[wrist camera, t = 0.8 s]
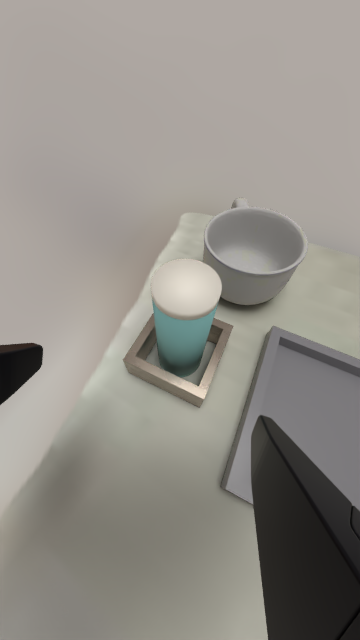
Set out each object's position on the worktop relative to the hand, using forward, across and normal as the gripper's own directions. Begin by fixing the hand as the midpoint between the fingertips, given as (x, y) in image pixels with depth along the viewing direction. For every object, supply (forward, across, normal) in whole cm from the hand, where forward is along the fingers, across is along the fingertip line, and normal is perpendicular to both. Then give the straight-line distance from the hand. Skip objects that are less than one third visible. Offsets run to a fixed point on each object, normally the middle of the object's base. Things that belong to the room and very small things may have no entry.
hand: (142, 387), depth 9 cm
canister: (+15, 0, +5) cm, 16 cm away
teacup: (+26, -4, -4) cm, 26 cm away
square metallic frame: (+15, 0, +5) cm, 16 cm away
